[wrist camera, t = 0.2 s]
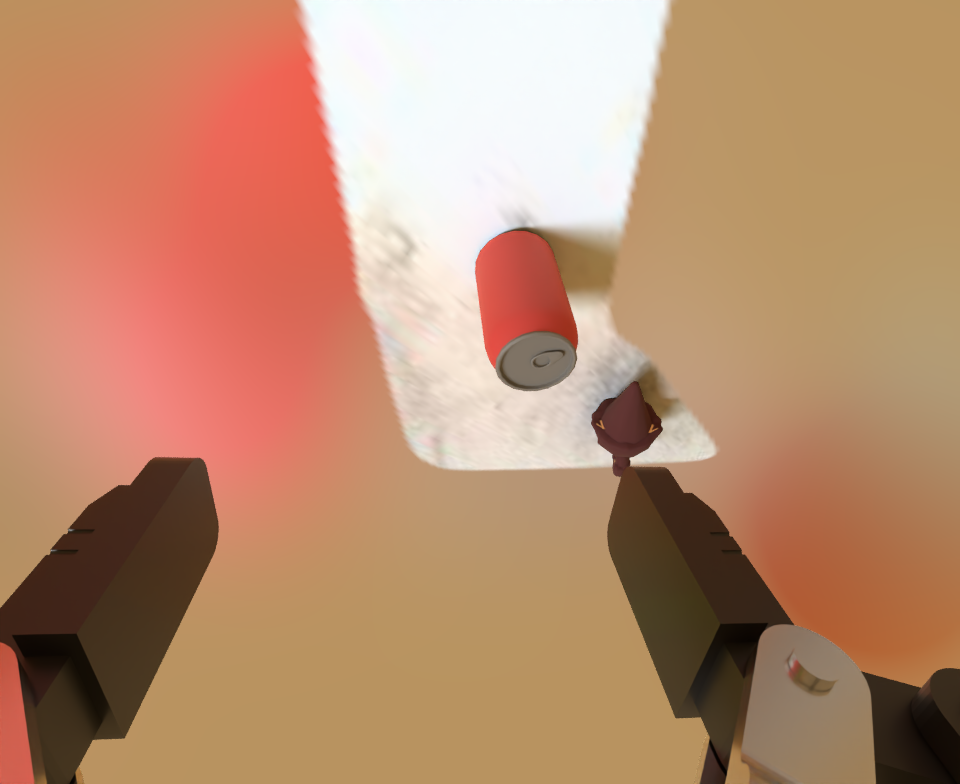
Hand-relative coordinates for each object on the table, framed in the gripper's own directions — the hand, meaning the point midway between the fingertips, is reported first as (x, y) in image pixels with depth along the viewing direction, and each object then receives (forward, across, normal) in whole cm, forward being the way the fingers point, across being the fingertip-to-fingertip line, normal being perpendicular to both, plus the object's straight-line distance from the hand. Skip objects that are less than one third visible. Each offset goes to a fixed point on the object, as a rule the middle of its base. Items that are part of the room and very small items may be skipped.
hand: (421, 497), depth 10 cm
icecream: (+41, -22, +21) cm, 51 cm away
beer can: (+34, -7, +4) cm, 35 cm away
